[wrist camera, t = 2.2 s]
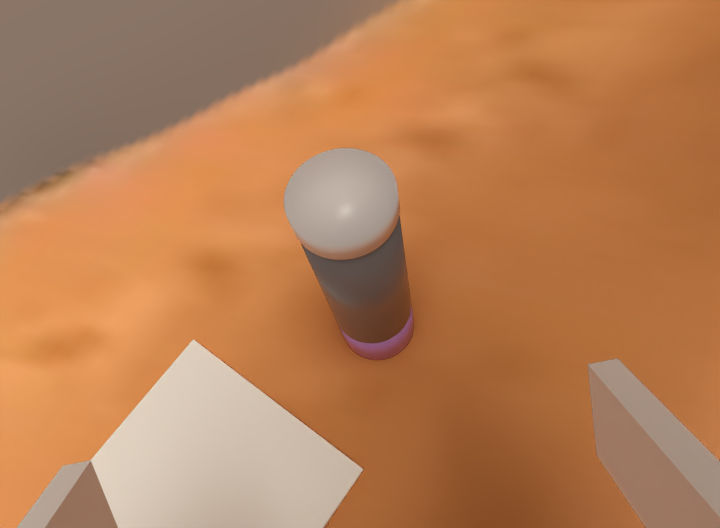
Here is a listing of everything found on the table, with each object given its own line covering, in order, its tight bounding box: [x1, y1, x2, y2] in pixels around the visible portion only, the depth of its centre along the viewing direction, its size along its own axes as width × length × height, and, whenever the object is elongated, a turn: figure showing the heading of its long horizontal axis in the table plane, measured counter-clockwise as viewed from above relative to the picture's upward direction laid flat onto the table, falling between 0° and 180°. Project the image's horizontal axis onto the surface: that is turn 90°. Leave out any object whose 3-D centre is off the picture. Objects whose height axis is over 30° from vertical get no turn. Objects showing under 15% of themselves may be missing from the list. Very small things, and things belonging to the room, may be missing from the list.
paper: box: [91, 339, 364, 528], centre depth 26 cm, size 14×11×1 cm
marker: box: [284, 148, 414, 360], centre depth 24 cm, size 4×4×12 cm
